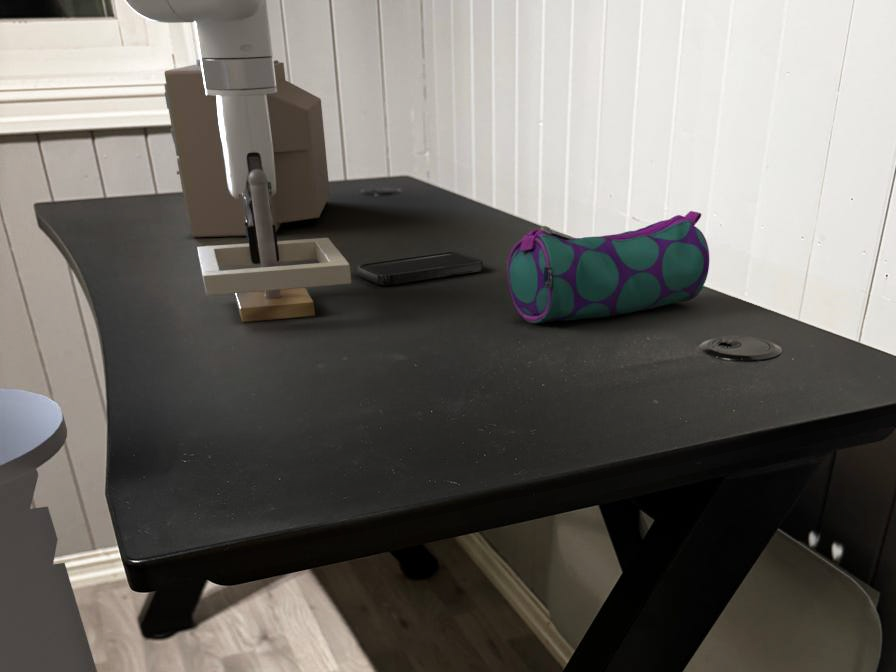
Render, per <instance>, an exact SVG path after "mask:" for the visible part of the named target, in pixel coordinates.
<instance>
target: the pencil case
mask: <svg viewBox="0 0 896 672" xmlns="http://www.w3.org/2000/svg"><path fill="white" fill-rule="evenodd" d="M701 217H702V213H701V212H698V211H693V210H690V211H689V212H687V213H686V214H685V215H682V214H677V215H674V216H673V217H670V218H669V219H665V220H664V219H663V220H660V221H657V222H655V223H652V224H649V225H646V226H645V227H642V228H638V229H636V230H628V231H624V232H622V233H616V234H615V233H614V234H606V235H600V236H586V237H585V236H584V237H572V236H570V235H567V234H564V233H561V232H558V231H555V230H551V228H550V227H549V226H546V225H543V226H541V227H540V229H539V228H534V229H532V230H531V231H529V232H527V233H526V234H525V235H523V237H522V238H520V240H519V241H517V242H516V244H514V246H513V247H512V249H511V251H510V253H509V255H508V259H507V265H506V266H507V267H506V269H507V270H506V271H507V282H508V286H509V291H510V295H511V299H512V302H513V304H514V307H515V309H516V311H517V312H518V314H519V315H520V316H521V317H522V318H523V319H524V321H526V323H529V324H542V323H546V322H547V323H548V322H549V323H551V322H567V321H578V320H584V319H585V320H586V319H598V318H600V319H601V318H607V317H613V316H619V315H626V314H632V313H636V312H641V311H645V310H651V309H655V308H659V307H663V306H667V305H673V304H676V303H678V302H679V303H680V302H682V303H683V302H687V301H691V300H692V299H694V298H696V297H698V296H699V294H700V292H701V291H702V289H703V287H704V285H705V283H706V281H707V278H708V274H709V269H710V250H709V249H710V248H709V244H708V241H707V238H706V237H705V235H704V233H703V232H702V231H701V230H700V229H699V228H698V227H697V226H696V224H697V223H698V222H699V220H700V219H701Z"/></svg>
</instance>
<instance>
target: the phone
mask: <svg viewBox="0 0 896 672" xmlns="http://www.w3.org/2000/svg"><path fill="white" fill-rule="evenodd" d="M483 269H484V268H483V260H482V259H480V258H477V257H475V256H471V255H468V254H465V253H462V252H459V251H447V252H439V253H433V254H426V255H418V256H411V257H404V258H398V259H397V258H396V259H389V260H383V261H376V262H369V263H363V264H359V265H357V275H358V277H360V278H363V279H365V280H367V281H370V282H372V283H374V284H376V285H379V286H392V285H393V286H394V285H399V284H404V283H405V284H406V283H413V282H419V281H424V280H431V279H432V280H433V279H438V278H444V277H452V276H458V275H464V274H465V275H466V274H470V273H478V272H482V271H483Z"/></svg>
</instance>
